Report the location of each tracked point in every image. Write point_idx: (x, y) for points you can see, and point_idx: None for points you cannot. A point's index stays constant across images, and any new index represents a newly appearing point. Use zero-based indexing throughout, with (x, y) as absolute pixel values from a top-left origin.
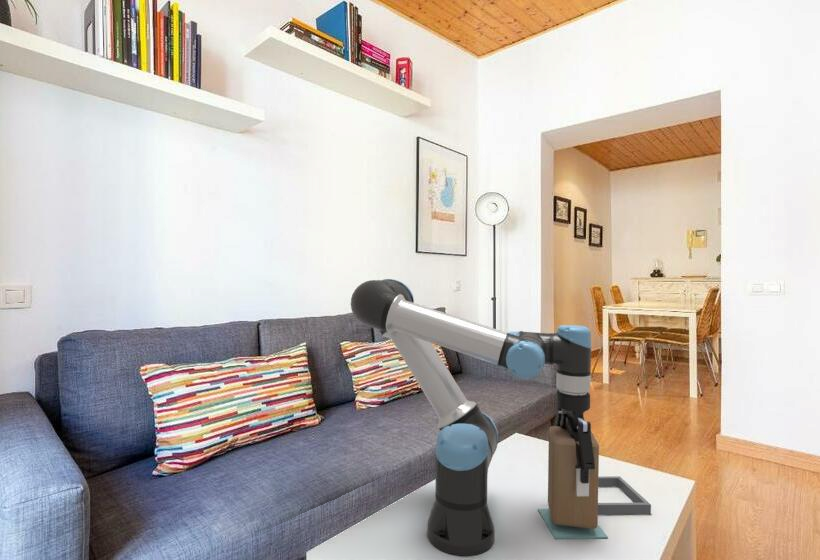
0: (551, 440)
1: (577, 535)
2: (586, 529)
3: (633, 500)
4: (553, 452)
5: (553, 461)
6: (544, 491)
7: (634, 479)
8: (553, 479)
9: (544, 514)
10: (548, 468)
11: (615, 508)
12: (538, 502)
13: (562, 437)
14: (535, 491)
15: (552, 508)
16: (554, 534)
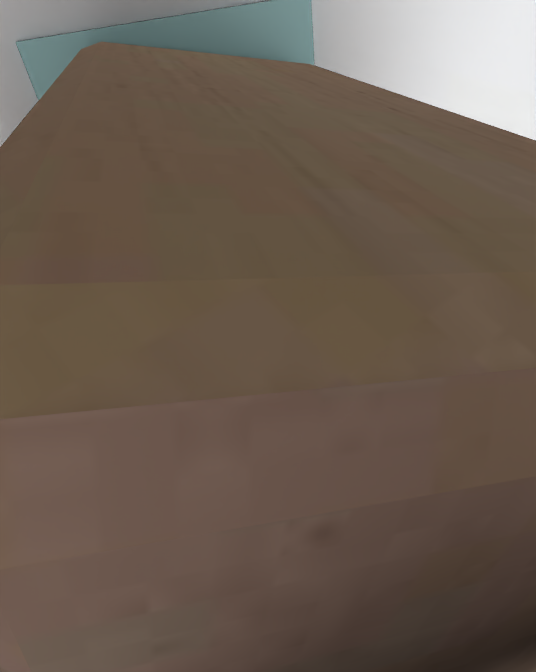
0: (355, 239)
1: None
2: None
3: None
4: (1, 179)
5: (32, 131)
6: (485, 85)
7: None
8: (54, 86)
9: (251, 27)
10: (401, 98)
11: None
12: (387, 20)
13: (118, 654)
14: (495, 28)
15: (88, 51)
16: (48, 44)
